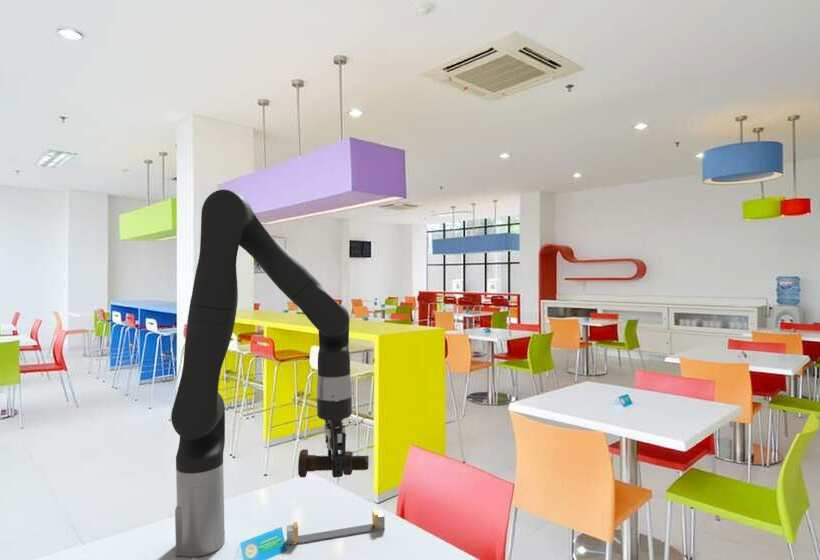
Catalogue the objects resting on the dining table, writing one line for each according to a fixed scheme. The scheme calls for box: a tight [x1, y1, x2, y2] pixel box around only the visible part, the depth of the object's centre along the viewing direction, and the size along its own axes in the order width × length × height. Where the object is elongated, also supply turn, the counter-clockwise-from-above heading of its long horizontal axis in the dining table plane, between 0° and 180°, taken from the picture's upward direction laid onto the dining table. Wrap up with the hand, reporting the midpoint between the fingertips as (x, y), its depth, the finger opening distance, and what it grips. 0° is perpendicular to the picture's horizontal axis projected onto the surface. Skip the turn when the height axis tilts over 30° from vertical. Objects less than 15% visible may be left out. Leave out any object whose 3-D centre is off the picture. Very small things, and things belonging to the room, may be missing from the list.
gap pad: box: [298, 523, 376, 544], centre depth 111 cm, size 17×3×1 cm, turn 107°
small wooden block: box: [371, 509, 386, 532], centre depth 113 cm, size 2×2×4 cm
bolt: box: [297, 448, 370, 478], centre depth 110 cm, size 6×5×15 cm
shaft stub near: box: [286, 521, 299, 546], centre depth 108 cm, size 2×2×4 cm
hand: (335, 470), depth 110 cm, fingers closed on bolt, 5 cm apart
